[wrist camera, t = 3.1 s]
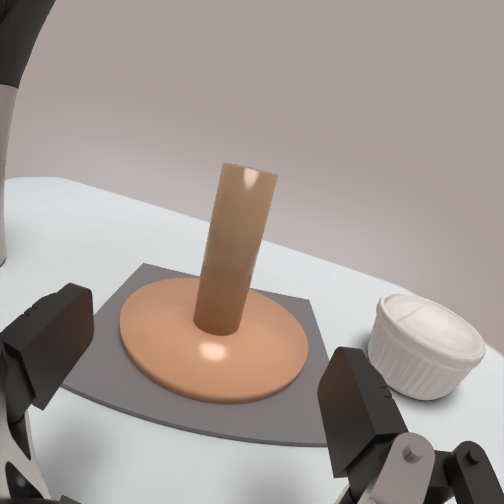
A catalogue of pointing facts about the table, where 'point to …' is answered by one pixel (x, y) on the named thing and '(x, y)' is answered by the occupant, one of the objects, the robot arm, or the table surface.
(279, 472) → the table surface
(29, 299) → the table surface
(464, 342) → the ramekin
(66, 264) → the table surface
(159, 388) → the mat
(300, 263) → the table surface
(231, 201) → the lid
